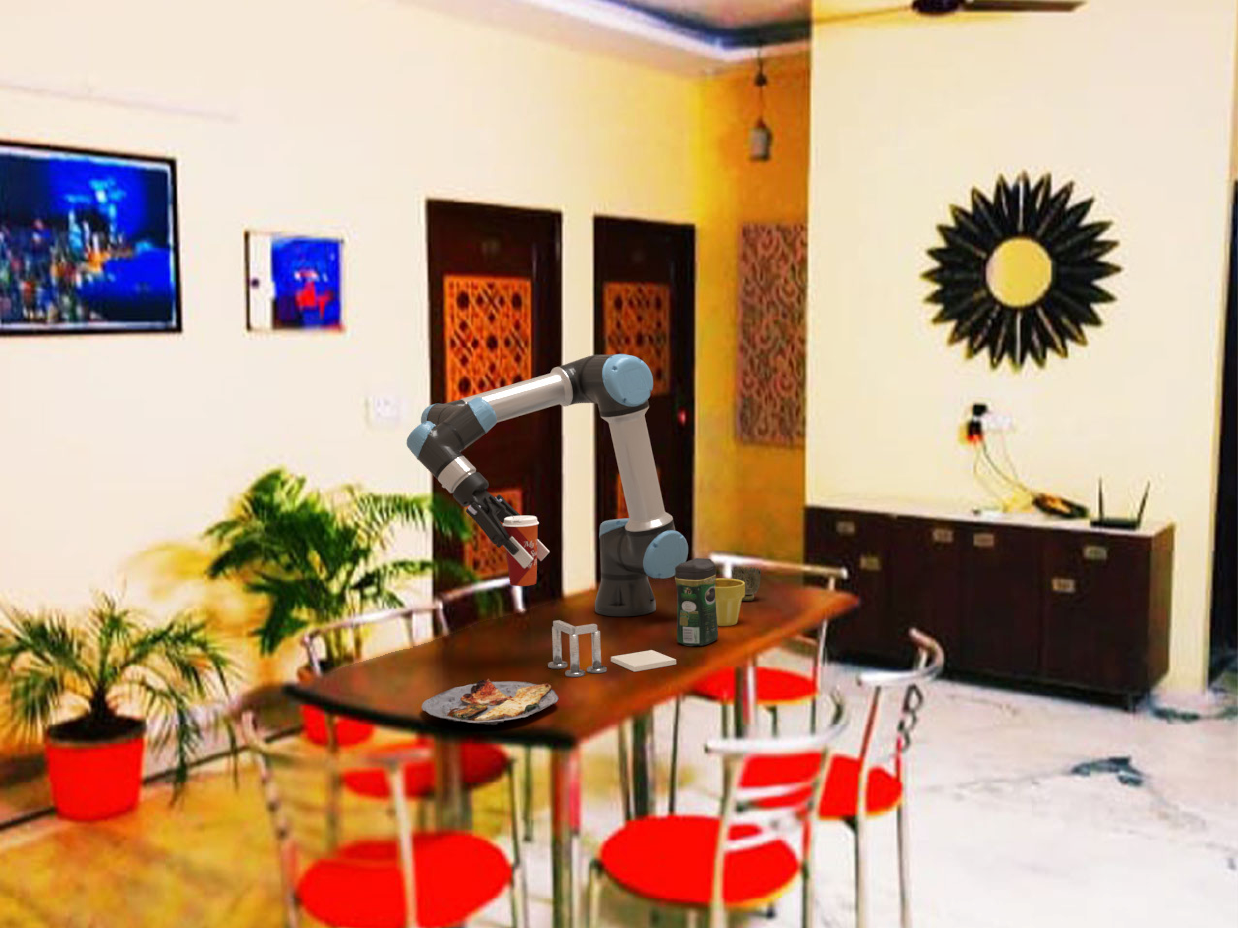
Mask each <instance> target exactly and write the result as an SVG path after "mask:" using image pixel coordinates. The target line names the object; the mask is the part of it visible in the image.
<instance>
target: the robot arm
mask: <svg viewBox="0 0 1238 928" xmlns="http://www.w3.org/2000/svg"><path fill="white" fill-rule="evenodd" d="M653 389H654V378H653V374H652V372H651V369H650V368H649V365H647V364H646V362H644V360H642V359H640V357H637V356H635V355H629V354H627V353H617V354H616V353H614V354H593V355H587V356H586V357H583V358H580V359H577V360H574V361H571V362H568V363H565V364H561V365H559V366H556V367H553V368H552V369H551V371H550V373H547V374H544V375H539V376H537V377H532V378H530V379H526V380H522V381H518V382H516V383H513V384H509V385H505V386H502V387H498V388H495V389H491V390H488V391H484V392H481V393H477V394H474V395H470V396H467V397H462V398H460V399H456V400H453V401H449V402H445V403H434V404H430V405H428V406H426V407H425V408H424V410H423V411H422V413H421V416H420V423H419V424H418V425H417V426H416V427H415V428H413V430H412V431H411V432H410V434H409V435H408V437H407V439H406V447H407V448H408V449H409V451H410V452H411V453H412V455H413V456H415V459H416V460H417V461H419V462H420V463H421V465H423V467H425V468H426V469H427V470H428V471H429V472H430V473H431V474H432V475H433V476H434V477H435V479H436V480H437V481H438V482H439V483H440V484H441V488H443V489H446V490H447V491H448V493H449V494H452V496H453V497H452V498H454V499H455V500H456V502H457V503H458V504H460V505H461V507H464V508H466V507H467V508H466V510H465V513H467V514H468V515H469V516H470V517H471V519H473V520H474V521H475V523H476V524H477V526H478V527H479V528H480V529H481V530H482V531H483V533H484V534H485V535H486V536H487V538H488V539H489V540H490V541H491V543H492V544H494V545H495V546H496V547H497V548H498V549H501V547H502V546H503V548H504V549H505V550H507V551H508V552H509V553H510V554H511V555H512V556H513V557H514V558H515V559H516V560H517V561H518V562H519V563H520V564H521V566H522V567H523V568H526V567H527V566H528V565H529V564H530V562H531V561H532V560H533V558H532V556H531V555H530V554H529V553H528V552H527V551H526V550H525V549H524V548H523V547H522V546H521V545H520V544H519V543H518V542H517V541H516V540H515V538H514V537H513V536H512V537H510V539H509V535H508V533H507V532H506V530H505V529H504V526H503V525H502V524H503V523H504V519H505V518H506V517H511V516H522V515H521V513H519V512H518V511H517V510H516V509H515V508H514V507H513V506H511V504H510V503H508V502H507V500H505V498H504V497H503V495H501V494H497V495H496V496H494V495H493V494H491V493H490V492H489V491H488V488H489V486H490V485H489V481H488V480H487V479H486V478H485V477H484V476H483V475H482V473H480V472H479V471H477V468H476V466H474V465H473V464H472V463H471V462H470V461H469V459H468V458H466V457H465V456H464V455H463V453H461V452H463V451H464V450H465V449H467V448H468V447H469V446H470V445H472V444H473V443H474V442H476V441H477V440H479V439H480V438H481V437H482V436H485V434H487V433H489V432H490V431H491V429H492V428H493V427H494V426H496V424H497V423H500V422H503V421H507V420H510V419H514V418H518V417H519V416H523V415H527V414H530V413H534V412H537V411H541V410H544V409H547V408H550V407H555V406H558V405H560V406H562V407H569V406H572V405H578V404H579V405H580V404H597V407H598V412H599V416H600V418H601V419H603V420H604V421H605V422H607V423H608V427H609V430H610V434H611V440H612V444H613V449H614V453H615V459H616V463H617V467H618V472H619V477H620V481H621V485H622V491H623V495H624V500H625V504H626V509H627V513H628V517H627V518H626V517H624V518H616V519H609V520H604V521H602V523H600V525H599V533H598V534H599V535H598V538H599V553H600V584H599V587H598V591H597V593H596V598H595V601H594V612H596V614H599V615H602V616H607V617H635V616H643V615H647V614H650V613H654V612H655V611H656V609H657V605H656V597H655V595H654V592H653V589H652V587H651V584H650V581H649V577H650V578H653V579H670V578H673V577H675V567H676V566H678V565H679V564H681V563H684V562H687V560H688V554H689V545H688V542H687V539H686V538H685V536H684V535H683V534H682V533H681V532H679V531H677V530H676V527H675V523H674V518H673V516H672V515H671V514H670V513H669V512H666V509H665V505H664V500H663V497H662V491H661V487H660V482H659V477H658V474H657V468H656V463H655V459H654V454H653V450H652V445H651V439H650V434H649V430H648V426H647V422H646V417H645V414H646V413H647V411H648V409H649V408H650V404H649V400H648V399H649V398H650V397H651V392H652V391H653ZM549 554H550V550H549V549H548V548H547V547H546V546H545V545H544V544H543V543H542V542H541V540H540V539H538V538H537V560H539V561H540V562H542V561H543V560H544V559H545V558H546V557H547V555H549Z"/></svg>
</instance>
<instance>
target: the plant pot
mask: <svg viewBox="0 0 1238 928" xmlns="http://www.w3.org/2000/svg"><path fill="white" fill-rule="evenodd" d="M744 596H745V582H744V581H741V580H737V579H733V578H716V580H715V600H716V615H717V626H718V627H730V626H735V625H737V623H738V621H739V615H740V611H741V605H742V598H743V597H744Z"/></svg>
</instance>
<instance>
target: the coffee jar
mask: <svg viewBox="0 0 1238 928" xmlns="http://www.w3.org/2000/svg"><path fill="white" fill-rule="evenodd" d="M716 573H717V572H716V564H715V563H714V562H713V560H712V559H711V558H702V557H701V558H700V557H695V558H694V559H690V560H688V561H687V560H686V562H684V563H681V564H679V565H678V566H676V567H675V575H674V581H675V586H676V598H677V600H676V601H677V609H676V613H677V614H676V617H677V620H676V641H677V643H679V644H681V645H684V646H688V647H694V646H706V645H708V644H710V643H712V642H714V641H716V640H717V639H718V638H719V631H718V630H719V629H718V628H719V626H717V615H716V600H715V580H716V579H717V575H716Z"/></svg>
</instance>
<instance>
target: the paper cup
mask: <svg viewBox="0 0 1238 928" xmlns="http://www.w3.org/2000/svg"><path fill="white" fill-rule="evenodd" d="M501 524H502V525H503V527H504V529H505V530H506V532H507V533H508V535H509V539H510V537H512V536H513V537H514V538H515V540H516V541H517V542H518V543H519V544H520V545H521V546H522V547H523V548H524V549H525V550H526V551H527V552H528V553H529V554H530V555H531V556H532V558H533V560H532V561H531V562H530V564H529V565H528V566H527V567H526V568H523V567H522V566H521V564H520V563H519V562H518V561H517V560H516V559H515V558H514V557H513V556H512V555H511V554H510V553H509V552H508V551H507V550H506V549H505V550H506V560H507V561H506V562H507V571H508V580H509V585H510V586H515V587H527V586H534V585H535V584H537V580H538V579H537V578H538V577H537V575H538V573H537V571H538V558H537V539H538V527H539V526H538V525H539V524H540V522H539V521H538V517H537V516H535V515H521V516H511V517H506V518H505V519H504V523H501Z"/></svg>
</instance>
